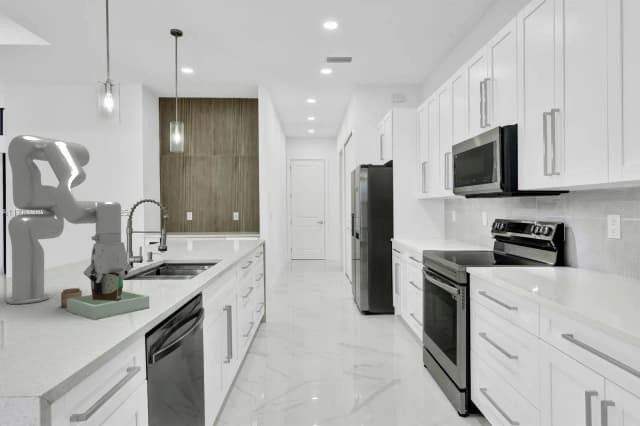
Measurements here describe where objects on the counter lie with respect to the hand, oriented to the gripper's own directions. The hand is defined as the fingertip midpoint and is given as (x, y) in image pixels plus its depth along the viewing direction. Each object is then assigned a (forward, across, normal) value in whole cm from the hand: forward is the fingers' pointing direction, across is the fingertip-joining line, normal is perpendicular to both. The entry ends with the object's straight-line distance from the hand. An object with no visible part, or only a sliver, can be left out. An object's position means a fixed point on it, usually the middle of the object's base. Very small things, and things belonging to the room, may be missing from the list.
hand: (108, 292), depth 133 cm
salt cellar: (+6, -5, +15) cm, 17 cm away
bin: (+6, 0, 0) cm, 6 cm away
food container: (+3, +1, 0) cm, 3 cm away
